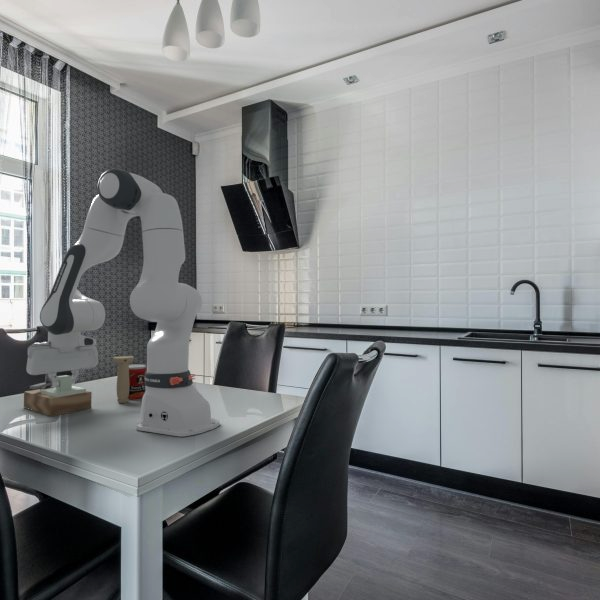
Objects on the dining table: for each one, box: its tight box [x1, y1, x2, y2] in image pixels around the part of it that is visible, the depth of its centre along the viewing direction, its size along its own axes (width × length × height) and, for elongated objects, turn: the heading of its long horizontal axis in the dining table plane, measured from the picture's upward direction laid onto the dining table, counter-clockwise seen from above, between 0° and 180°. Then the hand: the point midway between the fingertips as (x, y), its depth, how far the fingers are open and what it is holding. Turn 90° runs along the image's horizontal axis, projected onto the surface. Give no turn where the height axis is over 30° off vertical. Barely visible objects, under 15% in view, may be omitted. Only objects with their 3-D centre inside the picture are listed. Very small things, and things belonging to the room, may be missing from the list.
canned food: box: [128, 363, 147, 400], centre depth 147 cm, size 8×8×11 cm
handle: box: [112, 355, 135, 404], centre depth 139 cm, size 5×6×15 cm
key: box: [29, 373, 54, 390], centre depth 132 cm, size 8×7×10 cm
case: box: [23, 387, 92, 417], centre depth 131 cm, size 17×12×5 cm
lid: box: [41, 374, 87, 398], centre depth 129 cm, size 9×9×5 cm
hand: (63, 385), depth 129 cm, fingers closed on lid, 3 cm apart
